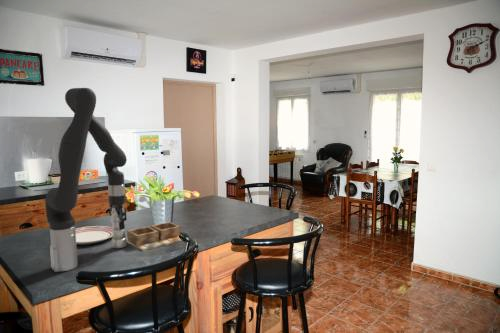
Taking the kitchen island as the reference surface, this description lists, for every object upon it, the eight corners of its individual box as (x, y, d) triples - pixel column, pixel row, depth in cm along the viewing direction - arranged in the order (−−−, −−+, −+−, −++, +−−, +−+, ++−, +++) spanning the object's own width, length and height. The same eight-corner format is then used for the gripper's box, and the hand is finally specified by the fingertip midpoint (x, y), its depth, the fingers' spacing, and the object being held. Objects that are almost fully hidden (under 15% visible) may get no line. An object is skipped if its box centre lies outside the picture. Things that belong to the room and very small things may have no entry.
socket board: (142, 251, 166) (141, 238, 165) (126, 241, 179) (125, 230, 179) (186, 239, 182) (186, 228, 181) (169, 231, 195) (168, 221, 195)
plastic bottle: (109, 247, 171) (107, 207, 169) (123, 244, 176) (121, 204, 173) (115, 251, 166) (113, 209, 164) (129, 247, 171) (127, 206, 169)
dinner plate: (117, 228, 202) (117, 223, 202) (118, 244, 177) (118, 237, 177) (63, 234, 193) (63, 228, 192) (56, 251, 167) (55, 244, 167)
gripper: (103, 192, 171) (105, 225, 173) (114, 197, 160) (116, 232, 162) (118, 190, 176) (120, 222, 178) (130, 195, 165) (132, 228, 167)
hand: (118, 227), depth 170 cm, fingers open, 8 cm apart
